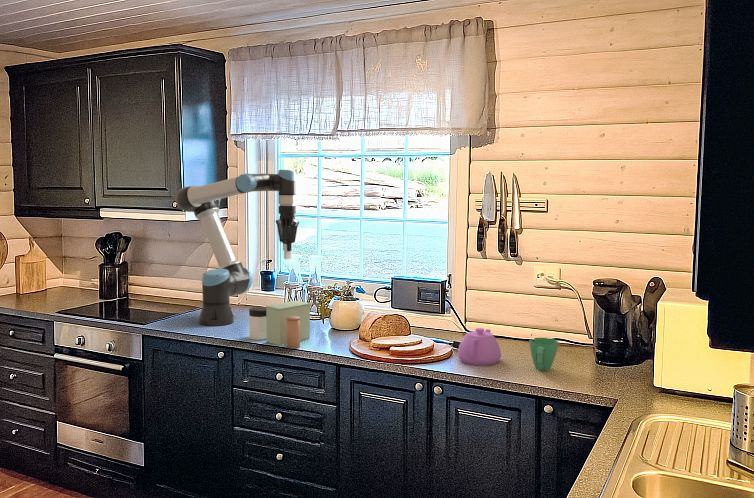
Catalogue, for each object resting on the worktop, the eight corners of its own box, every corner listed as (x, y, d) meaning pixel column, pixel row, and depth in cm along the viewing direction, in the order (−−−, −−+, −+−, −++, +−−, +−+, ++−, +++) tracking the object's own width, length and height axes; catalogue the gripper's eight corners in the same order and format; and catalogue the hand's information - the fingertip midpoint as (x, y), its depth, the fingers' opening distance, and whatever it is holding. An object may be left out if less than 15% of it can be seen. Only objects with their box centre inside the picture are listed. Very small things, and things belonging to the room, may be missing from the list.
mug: (530, 363, 249) (531, 336, 248) (558, 366, 246) (559, 339, 245) (524, 374, 235) (525, 346, 234) (554, 378, 232) (555, 348, 231)
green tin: (265, 342, 276) (265, 306, 275) (296, 335, 289) (296, 300, 287) (279, 345, 271) (279, 308, 269) (310, 338, 283) (310, 303, 282)
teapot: (491, 371, 239) (492, 337, 238) (448, 365, 246) (449, 332, 245) (508, 356, 259) (509, 324, 258) (468, 351, 266) (469, 320, 264)
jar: (253, 341, 278) (253, 311, 276) (245, 336, 284) (245, 308, 283) (274, 338, 283) (273, 309, 282) (265, 334, 290) (265, 305, 288)
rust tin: (283, 347, 269) (283, 317, 267) (293, 344, 273) (293, 315, 271) (292, 349, 265) (292, 319, 264) (302, 346, 269) (302, 317, 268)
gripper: (303, 205, 302) (303, 259, 305) (283, 204, 311) (283, 256, 313) (290, 205, 297) (290, 260, 299) (270, 204, 305) (271, 257, 308)
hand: (287, 258), depth 306 cm, fingers closed
